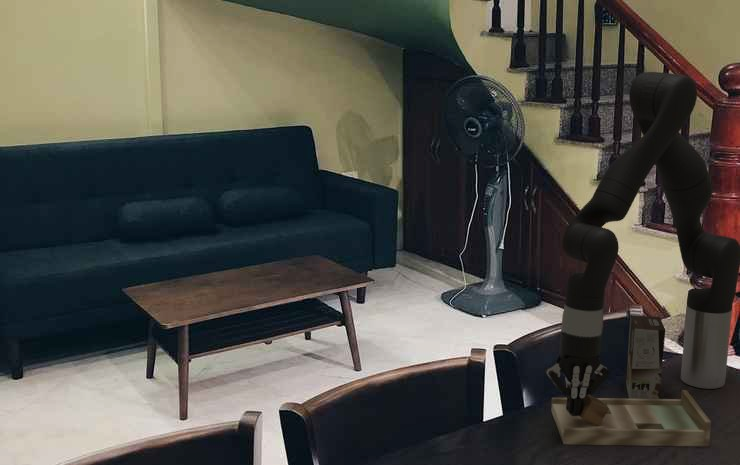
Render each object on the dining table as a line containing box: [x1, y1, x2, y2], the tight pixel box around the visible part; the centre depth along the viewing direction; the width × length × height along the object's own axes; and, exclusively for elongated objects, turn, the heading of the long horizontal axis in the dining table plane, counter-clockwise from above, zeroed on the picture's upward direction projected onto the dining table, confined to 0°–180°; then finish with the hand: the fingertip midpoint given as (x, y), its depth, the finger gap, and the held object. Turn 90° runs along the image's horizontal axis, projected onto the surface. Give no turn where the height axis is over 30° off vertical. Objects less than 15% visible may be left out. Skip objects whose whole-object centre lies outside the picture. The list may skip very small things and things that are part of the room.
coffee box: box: [625, 315, 667, 399], centre depth 186 cm, size 9×6×16 cm
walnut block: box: [580, 394, 609, 426], centre depth 169 cm, size 4×4×4 cm
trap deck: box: [550, 389, 712, 448], centre depth 171 cm, size 27×15×5 cm, turn 88°
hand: (573, 414), depth 169 cm, fingers closed
